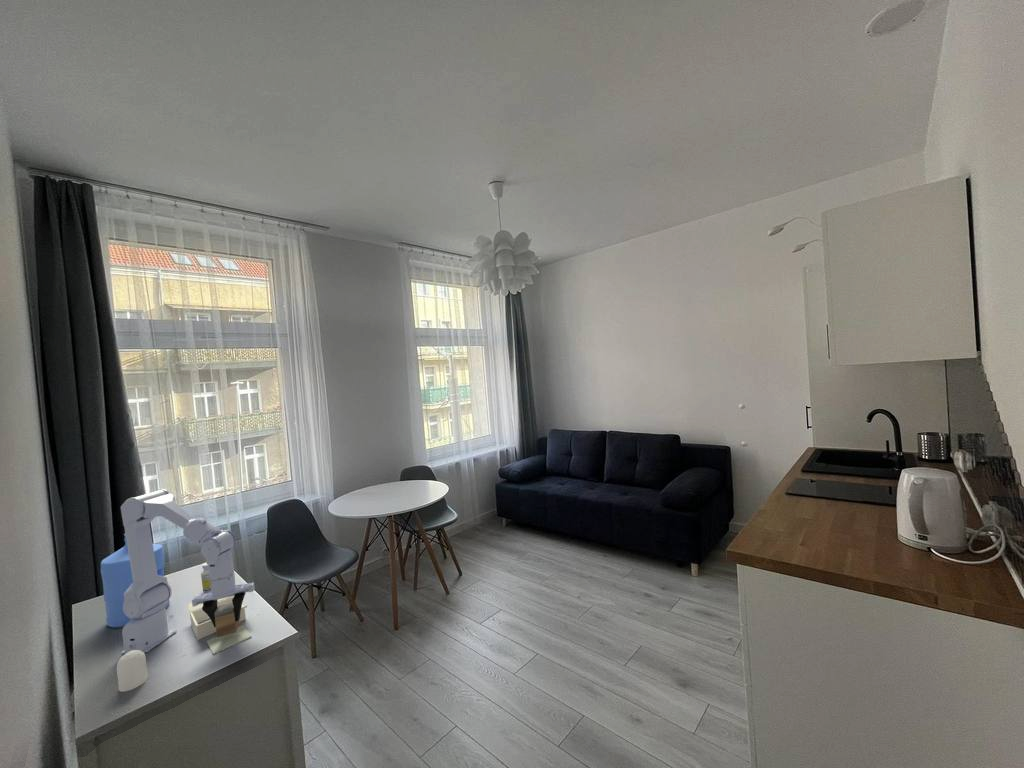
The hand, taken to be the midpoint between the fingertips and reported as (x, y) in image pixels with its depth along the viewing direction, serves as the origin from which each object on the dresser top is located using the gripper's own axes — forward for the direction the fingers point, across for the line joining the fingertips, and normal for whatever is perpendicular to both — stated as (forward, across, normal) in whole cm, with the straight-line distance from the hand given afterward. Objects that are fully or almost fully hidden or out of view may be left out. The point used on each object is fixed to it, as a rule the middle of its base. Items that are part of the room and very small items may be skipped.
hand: (227, 622), depth 116 cm
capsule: (+5, +18, +8) cm, 21 cm away
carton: (+5, +6, -13) cm, 15 cm away
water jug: (+5, +34, -36) cm, 49 cm away
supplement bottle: (+5, +15, -43) cm, 46 cm away
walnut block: (+2, 0, 0) cm, 3 cm away
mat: (+5, 0, 0) cm, 5 cm away
